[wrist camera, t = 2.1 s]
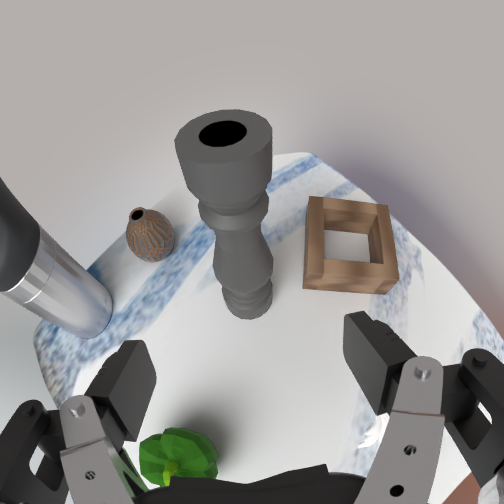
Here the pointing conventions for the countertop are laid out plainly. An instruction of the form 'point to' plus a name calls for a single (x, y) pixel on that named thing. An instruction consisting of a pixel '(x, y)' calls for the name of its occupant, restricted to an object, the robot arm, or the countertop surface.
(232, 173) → the candle holder
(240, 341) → the countertop surface
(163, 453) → the bell pepper
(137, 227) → the vase
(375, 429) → the acanthus leaf ornament
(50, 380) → the countertop surface
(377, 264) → the socket block
